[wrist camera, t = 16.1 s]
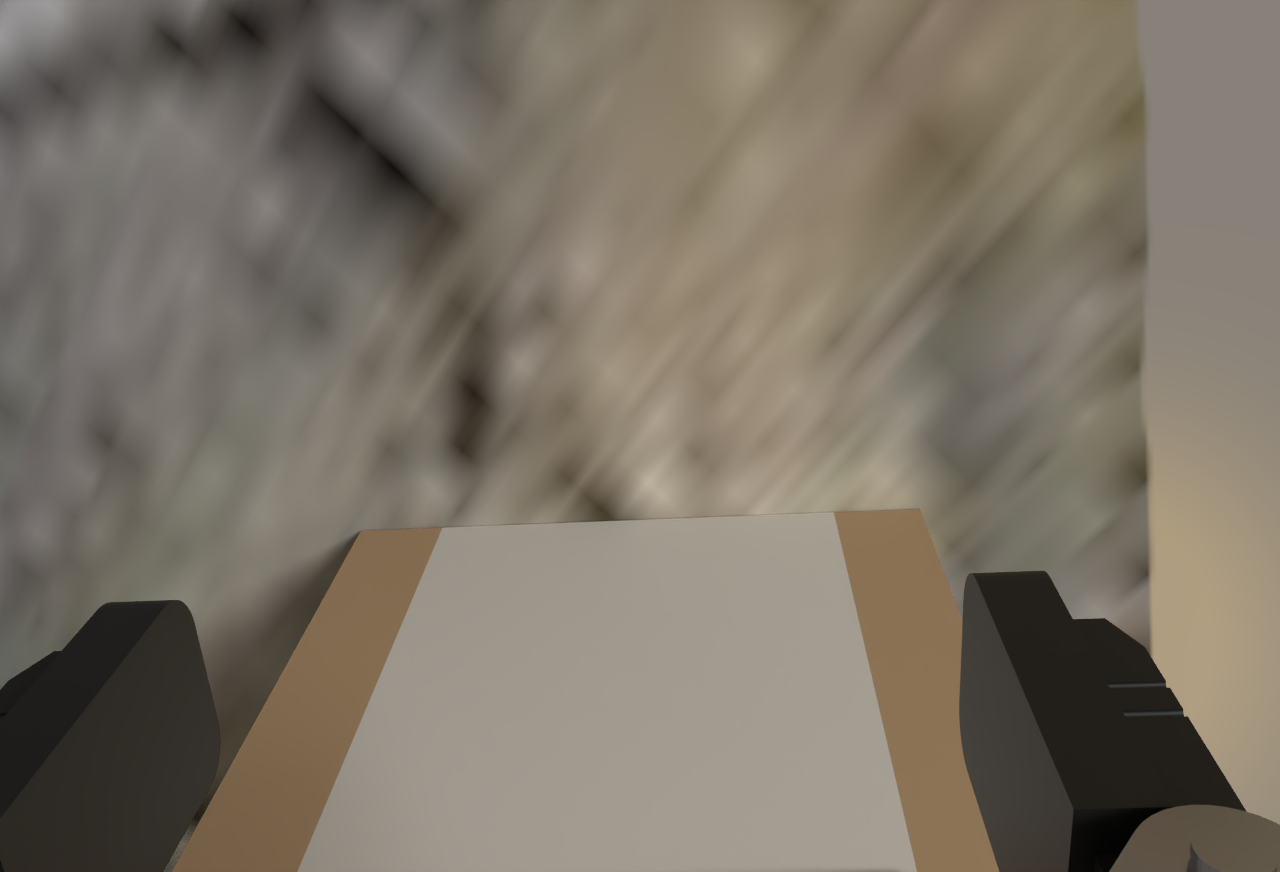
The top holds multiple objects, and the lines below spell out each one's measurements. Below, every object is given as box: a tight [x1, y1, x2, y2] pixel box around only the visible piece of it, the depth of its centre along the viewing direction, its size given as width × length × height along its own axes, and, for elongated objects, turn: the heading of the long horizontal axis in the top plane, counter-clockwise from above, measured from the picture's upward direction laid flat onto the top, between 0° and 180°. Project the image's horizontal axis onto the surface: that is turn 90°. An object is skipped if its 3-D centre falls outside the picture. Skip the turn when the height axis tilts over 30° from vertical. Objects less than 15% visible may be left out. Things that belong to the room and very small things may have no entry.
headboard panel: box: [172, 509, 999, 872], centre depth 34 cm, size 20×3×21 cm, turn 94°
